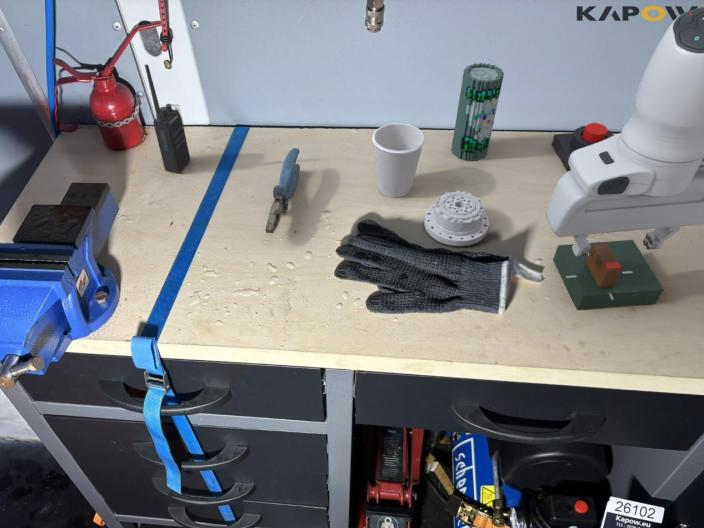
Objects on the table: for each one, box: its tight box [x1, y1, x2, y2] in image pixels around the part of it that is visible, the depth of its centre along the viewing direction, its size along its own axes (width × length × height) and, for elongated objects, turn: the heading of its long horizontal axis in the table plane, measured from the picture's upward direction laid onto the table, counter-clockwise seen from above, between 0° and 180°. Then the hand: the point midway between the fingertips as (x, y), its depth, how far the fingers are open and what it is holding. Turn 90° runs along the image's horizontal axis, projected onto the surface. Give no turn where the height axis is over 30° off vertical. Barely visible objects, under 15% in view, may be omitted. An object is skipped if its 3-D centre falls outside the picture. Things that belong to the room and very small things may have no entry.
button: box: [582, 122, 609, 143], centre depth 103 cm, size 4×4×2 cm
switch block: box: [551, 125, 615, 172], centre depth 105 cm, size 10×8×4 cm
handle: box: [586, 244, 622, 288], centre depth 82 cm, size 5×2×4 cm, turn 3°
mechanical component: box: [423, 189, 490, 247], centre depth 94 cm, size 10×4×10 cm
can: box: [450, 62, 505, 162], centre depth 104 cm, size 6×6×15 cm
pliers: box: [265, 147, 301, 234], centre depth 99 cm, size 20×2×6 cm, turn 168°
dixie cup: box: [371, 122, 426, 199], centre depth 100 cm, size 8×8×10 cm
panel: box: [552, 239, 665, 311], centre depth 85 cm, size 12×11×3 cm
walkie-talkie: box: [144, 63, 191, 174], centre depth 103 cm, size 5×3×20 cm
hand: (614, 249), depth 79 cm, fingers open, 8 cm apart
